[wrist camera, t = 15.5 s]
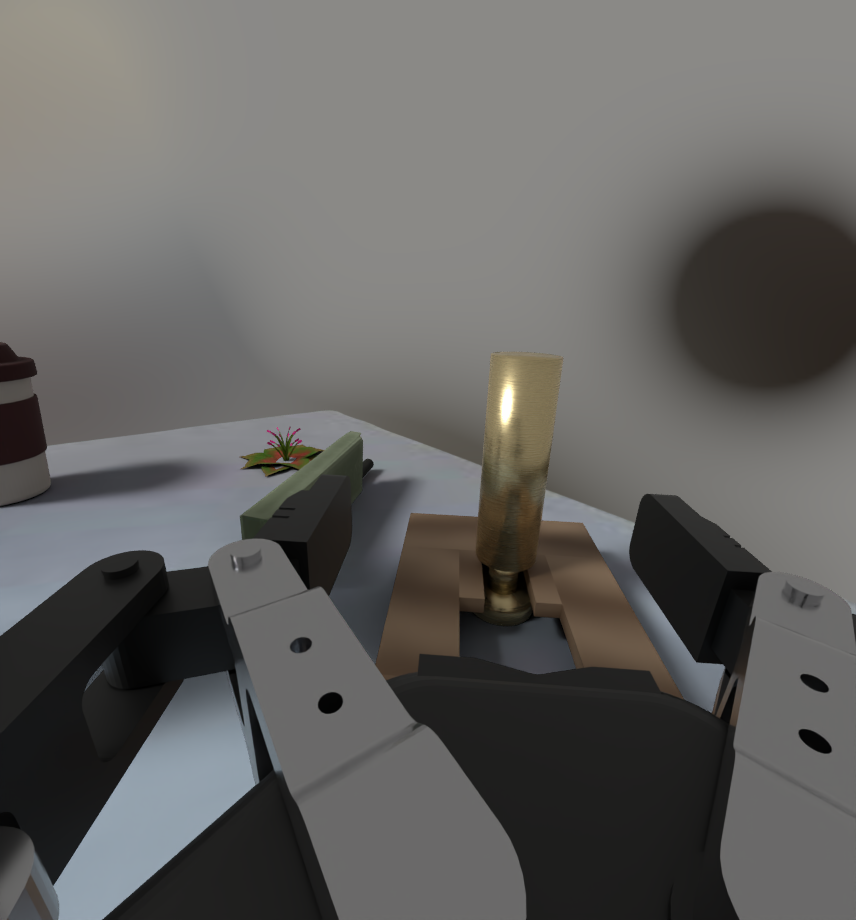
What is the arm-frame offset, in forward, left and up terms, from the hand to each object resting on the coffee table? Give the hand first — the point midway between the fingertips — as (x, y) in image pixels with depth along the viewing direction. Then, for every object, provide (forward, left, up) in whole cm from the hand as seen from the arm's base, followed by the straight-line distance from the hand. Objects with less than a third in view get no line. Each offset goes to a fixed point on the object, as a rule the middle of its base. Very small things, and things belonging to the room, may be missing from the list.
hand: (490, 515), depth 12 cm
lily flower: (-46, +1, -15) cm, 49 cm away
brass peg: (-11, +10, -14) cm, 20 cm away
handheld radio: (-29, +2, -15) cm, 32 cm away
